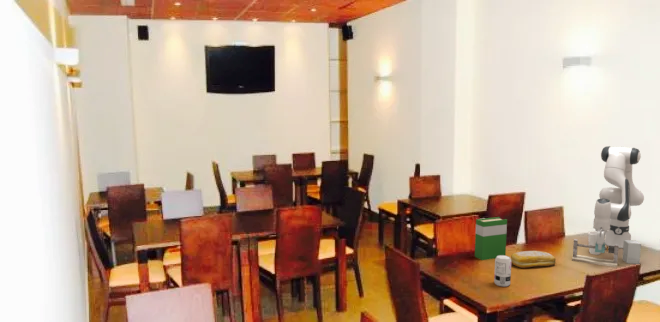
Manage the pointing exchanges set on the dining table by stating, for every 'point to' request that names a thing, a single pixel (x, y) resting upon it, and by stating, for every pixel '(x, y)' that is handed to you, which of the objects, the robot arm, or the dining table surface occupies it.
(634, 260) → the supplement box
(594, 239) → the foam cup
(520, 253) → the bread
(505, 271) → the supplement can
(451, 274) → the dining table surface
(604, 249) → the sleeve
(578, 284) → the dining table surface
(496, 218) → the green cereal box
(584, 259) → the rail stand
